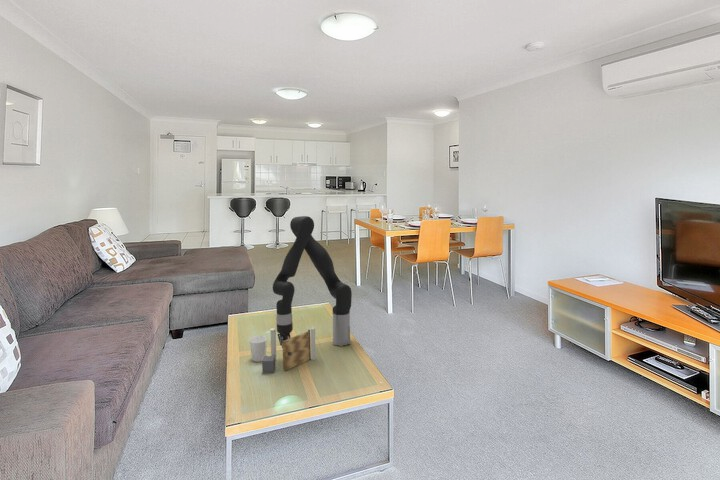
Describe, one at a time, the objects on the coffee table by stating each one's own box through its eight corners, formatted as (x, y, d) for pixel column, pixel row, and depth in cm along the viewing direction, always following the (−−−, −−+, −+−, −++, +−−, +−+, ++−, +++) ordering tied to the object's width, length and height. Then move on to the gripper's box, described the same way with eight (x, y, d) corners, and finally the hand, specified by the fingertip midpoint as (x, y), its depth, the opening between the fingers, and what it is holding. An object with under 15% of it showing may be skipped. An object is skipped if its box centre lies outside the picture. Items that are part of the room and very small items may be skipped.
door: (309, 358, 182) (308, 329, 180) (313, 360, 180) (312, 330, 178) (283, 370, 170) (282, 339, 168) (286, 372, 168) (285, 341, 166)
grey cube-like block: (275, 367, 173) (275, 355, 172) (273, 373, 168) (273, 360, 167) (264, 368, 172) (264, 356, 171) (262, 373, 167) (262, 361, 166)
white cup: (258, 363, 176) (257, 344, 175) (247, 359, 181) (246, 340, 179) (270, 357, 183) (269, 338, 182) (259, 353, 187) (258, 335, 186)
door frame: (315, 358, 182) (315, 327, 180) (315, 359, 180) (314, 328, 178) (272, 359, 181) (271, 328, 178) (271, 361, 179) (270, 330, 176)
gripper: (297, 324, 172) (298, 358, 175) (285, 315, 183) (286, 348, 186) (283, 327, 168) (284, 363, 171) (271, 319, 179) (272, 352, 181)
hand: (285, 355), depth 178 cm, fingers closed
